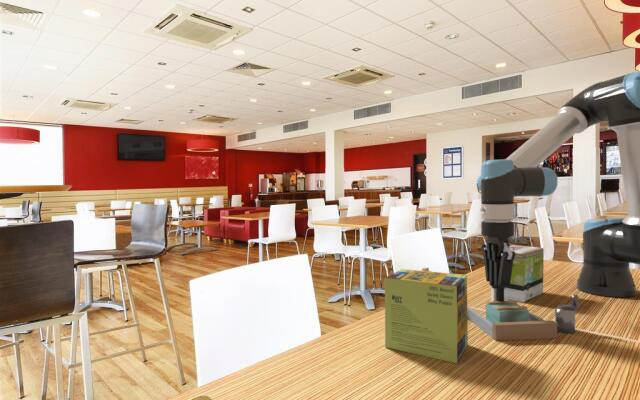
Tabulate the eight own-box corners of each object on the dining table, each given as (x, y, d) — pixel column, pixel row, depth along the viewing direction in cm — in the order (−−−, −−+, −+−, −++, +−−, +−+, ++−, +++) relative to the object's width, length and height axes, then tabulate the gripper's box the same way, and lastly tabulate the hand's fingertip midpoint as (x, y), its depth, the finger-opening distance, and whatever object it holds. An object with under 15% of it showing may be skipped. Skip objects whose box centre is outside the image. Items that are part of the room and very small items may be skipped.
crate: (513, 320, 97) (513, 299, 97) (529, 331, 90) (529, 308, 90) (485, 321, 97) (485, 300, 97) (499, 332, 90) (499, 309, 90)
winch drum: (571, 326, 92) (571, 292, 92) (583, 332, 88) (583, 297, 88) (551, 327, 92) (551, 293, 92) (562, 333, 88) (562, 298, 88)
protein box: (458, 364, 75) (457, 285, 74) (384, 348, 83) (383, 277, 82) (469, 344, 83) (468, 274, 83) (401, 331, 92) (400, 267, 91)
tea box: (525, 303, 111) (525, 253, 110) (491, 296, 118) (490, 249, 118) (544, 293, 121) (544, 246, 120) (511, 287, 128) (511, 243, 128)
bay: (506, 307, 107) (506, 295, 107) (556, 338, 86) (556, 322, 86) (457, 309, 107) (457, 297, 107) (495, 340, 85) (495, 325, 85)
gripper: (471, 218, 104) (472, 304, 104) (495, 223, 91) (495, 321, 91) (498, 218, 104) (499, 303, 105) (526, 222, 91) (526, 320, 92)
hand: (497, 312), depth 98 cm, fingers closed
